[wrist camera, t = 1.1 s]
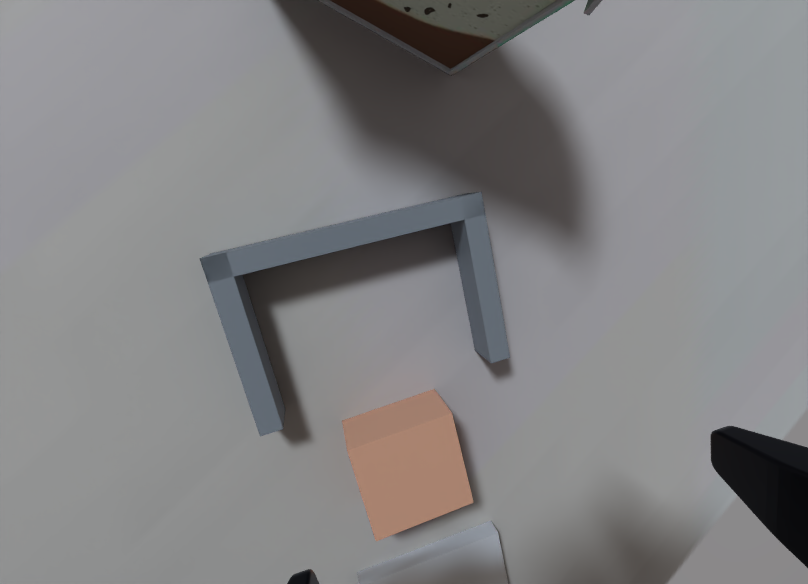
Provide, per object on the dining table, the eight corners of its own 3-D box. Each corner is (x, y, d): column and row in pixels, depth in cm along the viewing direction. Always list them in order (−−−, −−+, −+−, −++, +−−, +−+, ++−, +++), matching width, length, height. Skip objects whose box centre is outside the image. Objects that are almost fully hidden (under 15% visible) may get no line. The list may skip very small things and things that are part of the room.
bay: (492, 344, 22) (510, 357, 20) (264, 414, 20) (260, 436, 18) (465, 193, 20) (481, 191, 19) (210, 253, 18) (199, 258, 16)
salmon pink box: (453, 466, 23) (473, 502, 21) (367, 499, 23) (375, 541, 20) (433, 387, 22) (452, 413, 19) (341, 418, 21) (347, 450, 19)
